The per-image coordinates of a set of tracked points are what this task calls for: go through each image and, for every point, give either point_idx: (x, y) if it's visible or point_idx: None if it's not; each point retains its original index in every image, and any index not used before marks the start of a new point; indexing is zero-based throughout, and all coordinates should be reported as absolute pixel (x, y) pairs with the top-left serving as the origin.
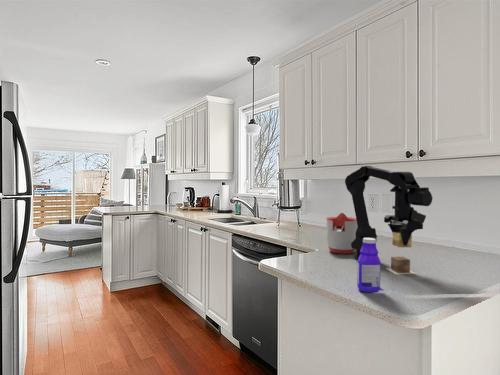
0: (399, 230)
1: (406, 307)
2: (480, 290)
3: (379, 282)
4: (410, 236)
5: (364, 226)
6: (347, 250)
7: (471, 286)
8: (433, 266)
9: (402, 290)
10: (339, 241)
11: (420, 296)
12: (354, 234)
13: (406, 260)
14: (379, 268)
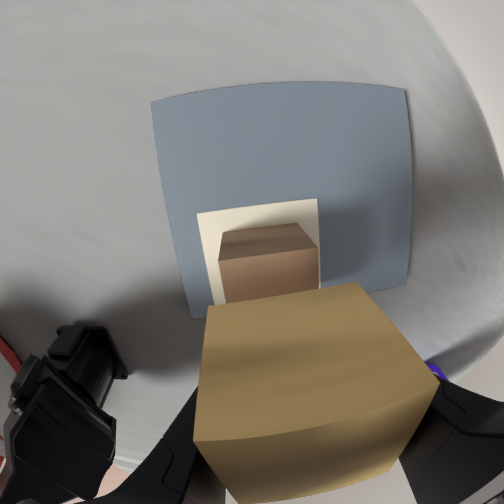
0: (199, 495)
1: (495, 319)
2: (452, 56)
3: (445, 376)
4: (418, 374)
5: (58, 498)
6: (14, 366)
7: (422, 47)
8: (107, 37)
9: (442, 307)
10: None
11: (479, 274)
12: None
13: (317, 270)
14: None
